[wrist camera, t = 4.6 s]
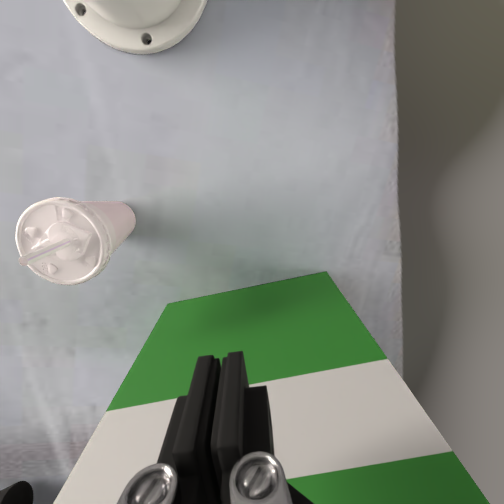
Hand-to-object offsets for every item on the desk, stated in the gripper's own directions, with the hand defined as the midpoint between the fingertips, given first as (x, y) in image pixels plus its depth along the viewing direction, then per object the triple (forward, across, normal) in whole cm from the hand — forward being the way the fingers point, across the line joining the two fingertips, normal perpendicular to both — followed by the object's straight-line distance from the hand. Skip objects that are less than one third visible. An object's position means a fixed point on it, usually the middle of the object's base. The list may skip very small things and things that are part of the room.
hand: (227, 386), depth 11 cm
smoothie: (+21, +12, -4) cm, 25 cm away
